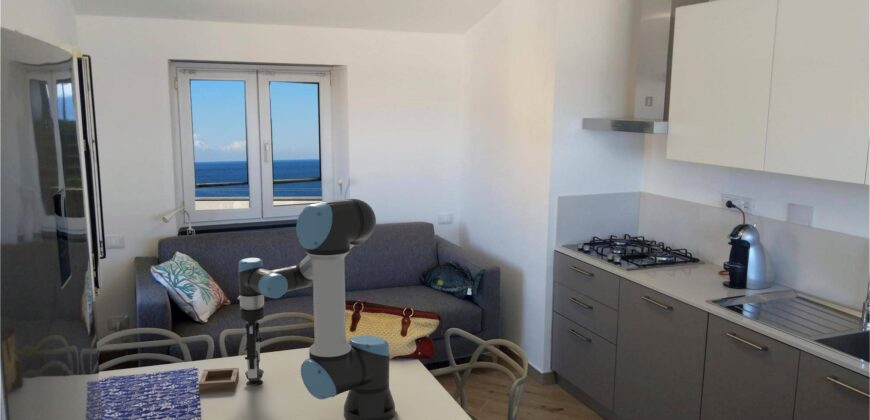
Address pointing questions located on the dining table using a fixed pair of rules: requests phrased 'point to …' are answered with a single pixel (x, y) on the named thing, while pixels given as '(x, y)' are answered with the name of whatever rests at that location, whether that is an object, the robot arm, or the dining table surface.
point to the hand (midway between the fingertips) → (254, 369)
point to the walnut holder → (219, 380)
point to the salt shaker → (260, 372)
